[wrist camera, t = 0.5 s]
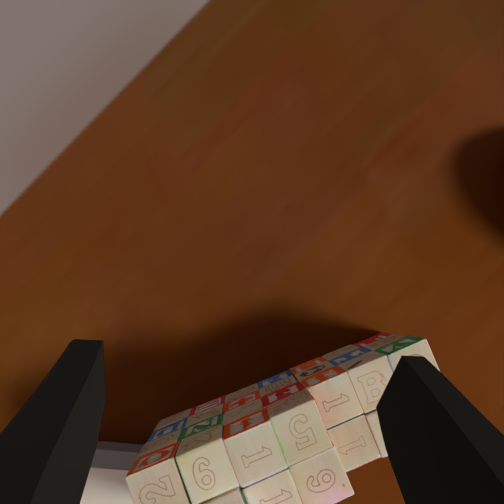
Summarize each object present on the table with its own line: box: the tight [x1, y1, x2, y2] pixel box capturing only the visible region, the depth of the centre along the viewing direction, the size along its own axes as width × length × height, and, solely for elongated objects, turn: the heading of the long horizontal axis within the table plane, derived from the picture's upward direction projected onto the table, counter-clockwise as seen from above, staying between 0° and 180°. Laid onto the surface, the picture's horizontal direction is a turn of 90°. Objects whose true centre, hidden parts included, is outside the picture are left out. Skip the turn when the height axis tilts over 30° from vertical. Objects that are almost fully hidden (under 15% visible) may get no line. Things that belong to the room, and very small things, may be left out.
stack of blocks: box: [125, 332, 440, 504], centre depth 32 cm, size 21×6×12 cm, turn 111°
